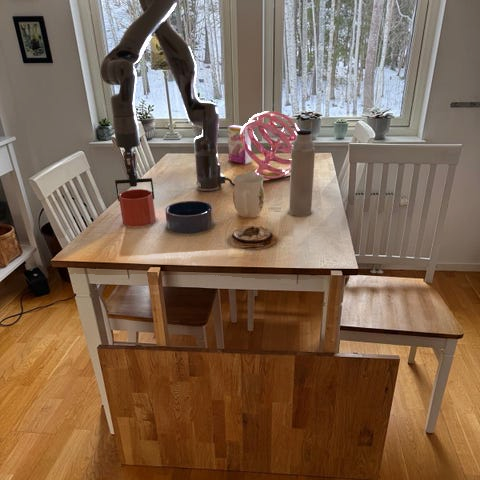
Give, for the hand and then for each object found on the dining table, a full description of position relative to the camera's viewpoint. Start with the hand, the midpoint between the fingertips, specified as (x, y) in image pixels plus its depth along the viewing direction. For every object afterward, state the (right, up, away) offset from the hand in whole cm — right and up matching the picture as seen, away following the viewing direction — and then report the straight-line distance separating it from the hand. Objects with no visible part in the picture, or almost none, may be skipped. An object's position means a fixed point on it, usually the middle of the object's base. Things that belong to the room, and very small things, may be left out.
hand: (134, 184), depth 158 cm
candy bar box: (+36, +32, +75) cm, 89 cm away
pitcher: (+39, -9, +10) cm, 41 cm away
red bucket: (0, -11, +7) cm, 13 cm away
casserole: (+19, -14, +2) cm, 23 cm away
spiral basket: (+51, +19, +54) cm, 76 cm away
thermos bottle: (+58, -7, +12) cm, 59 cm away
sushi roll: (+40, -20, -9) cm, 45 cm away
